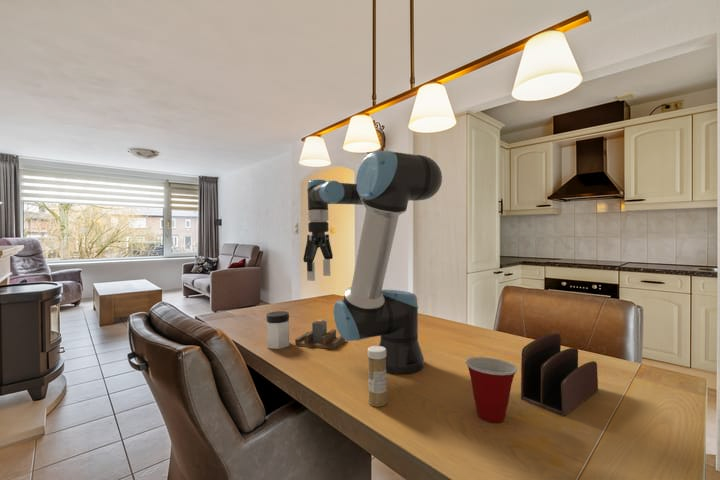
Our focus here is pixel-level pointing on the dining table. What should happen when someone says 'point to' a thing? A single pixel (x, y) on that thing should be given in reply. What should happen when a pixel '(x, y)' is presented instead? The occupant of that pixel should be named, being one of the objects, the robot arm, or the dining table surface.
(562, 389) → the letter holder
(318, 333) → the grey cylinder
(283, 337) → the jar
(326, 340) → the brown slotted rack
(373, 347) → the sprinkles bottle
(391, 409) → the dining table surface
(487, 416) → the plastic cup
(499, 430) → the dining table surface
